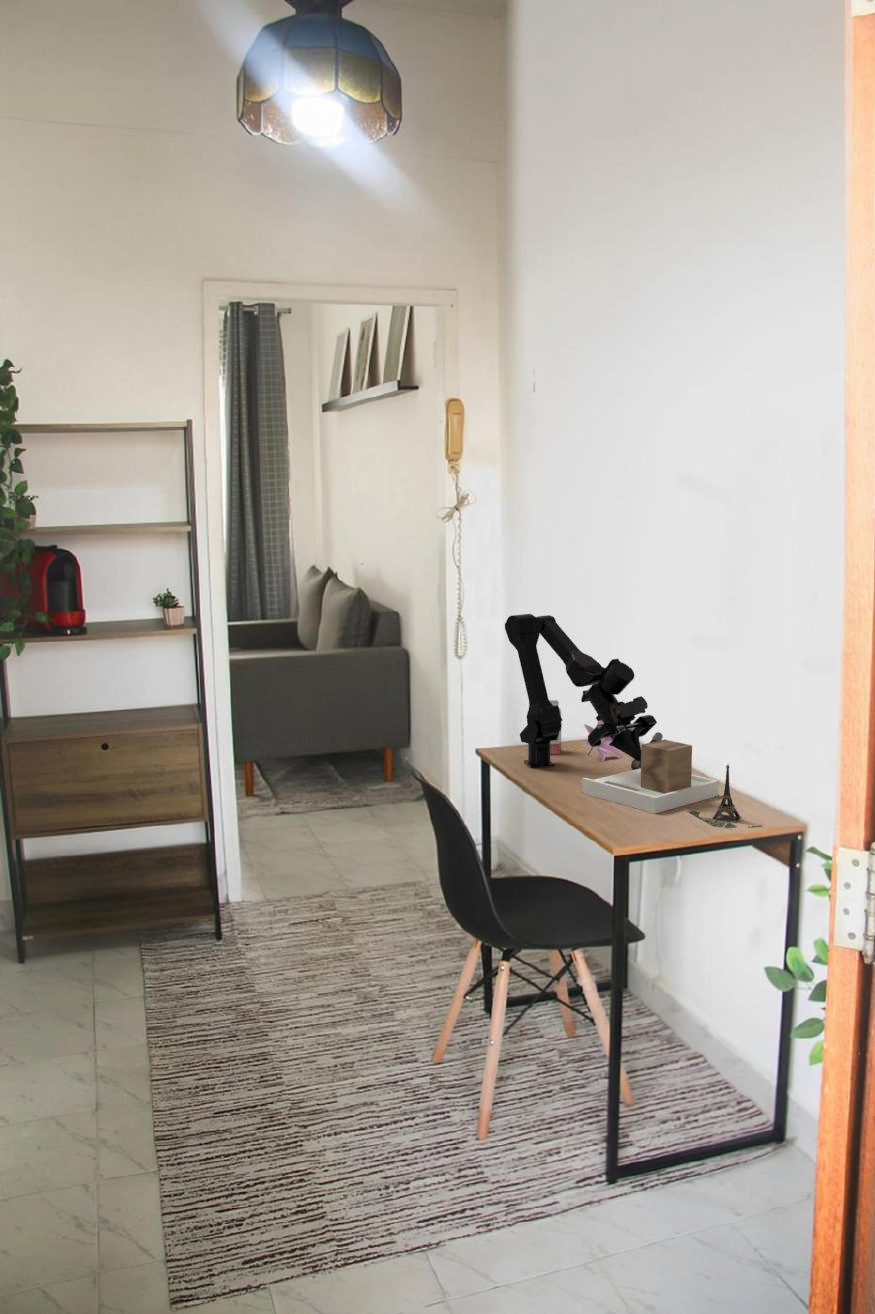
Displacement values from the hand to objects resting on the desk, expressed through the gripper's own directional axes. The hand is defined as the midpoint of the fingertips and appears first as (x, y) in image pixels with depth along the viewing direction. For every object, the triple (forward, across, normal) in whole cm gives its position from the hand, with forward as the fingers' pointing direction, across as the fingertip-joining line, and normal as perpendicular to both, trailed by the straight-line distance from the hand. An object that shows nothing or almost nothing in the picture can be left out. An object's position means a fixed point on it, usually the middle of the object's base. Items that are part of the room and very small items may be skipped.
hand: (640, 760), depth 256 cm
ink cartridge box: (-25, +11, +37) cm, 45 cm away
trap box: (+7, 0, +3) cm, 8 cm away
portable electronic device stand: (-4, +19, +16) cm, 25 cm away
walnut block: (+9, 0, -2) cm, 9 cm away
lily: (-14, +17, +26) cm, 35 cm away
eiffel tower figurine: (+24, -3, -13) cm, 27 cm away
